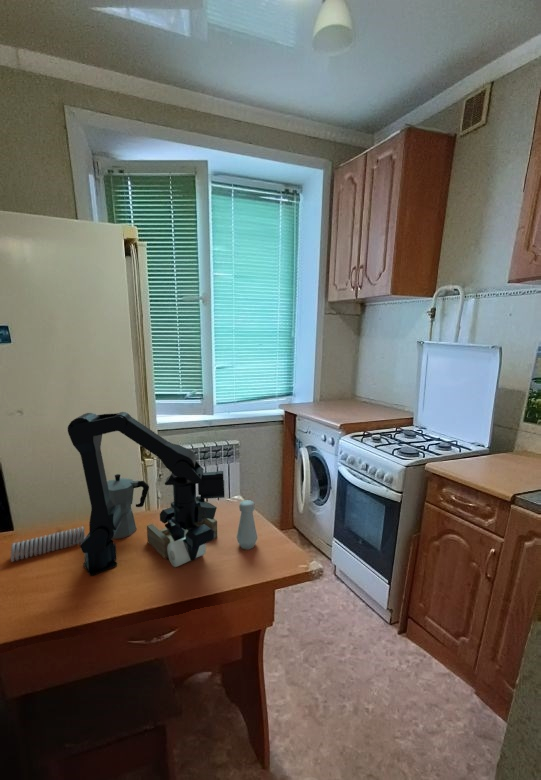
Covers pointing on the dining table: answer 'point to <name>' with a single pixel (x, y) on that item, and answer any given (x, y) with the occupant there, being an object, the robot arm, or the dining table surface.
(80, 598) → the dining table surface
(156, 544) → the cradle
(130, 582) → the dining table surface
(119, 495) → the coffeepot
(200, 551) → the cylinder
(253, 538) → the salt shaker
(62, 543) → the coil
